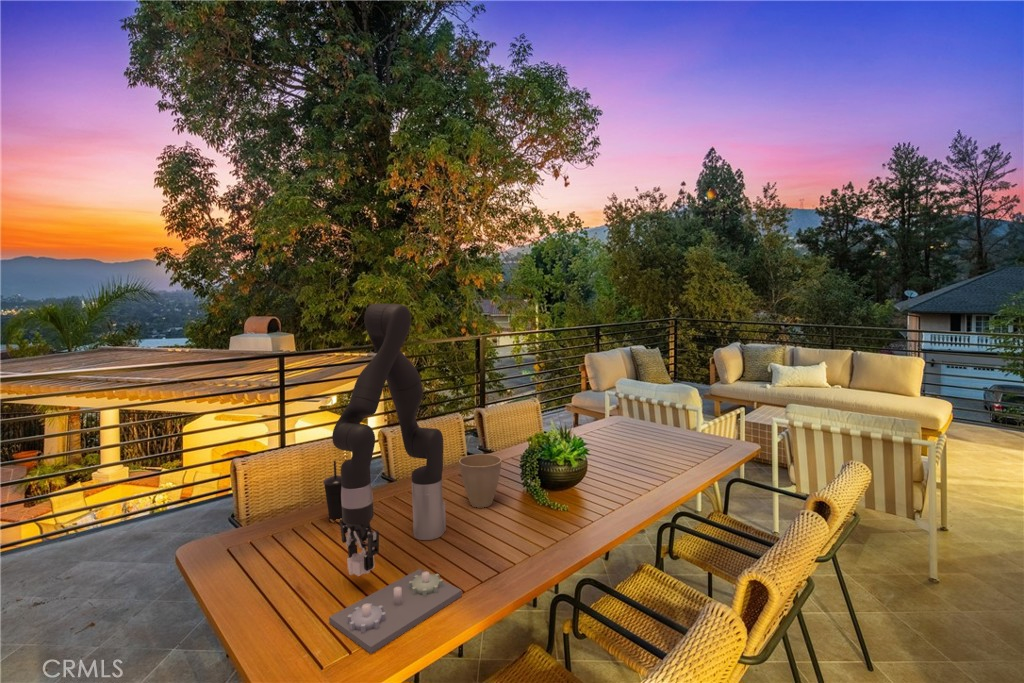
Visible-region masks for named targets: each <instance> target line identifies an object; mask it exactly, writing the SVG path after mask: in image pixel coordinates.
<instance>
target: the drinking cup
mask: <svg viewBox="0 0 1024 683" xmlns="http://www.w3.org/2000/svg"><path fill="white" fill-rule="evenodd" d="M322 484H323V485H324V490H325V496H326V505H327V512H328V519H329V518H330V519H333V520H336V519H340V518H342V502H341V489H342V485H341V474H340V475H339V474H338V475H337V462H336V460H333V475H332V476H329V477H327V478H325V479H324V480H323V482H322Z"/></svg>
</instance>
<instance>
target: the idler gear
mask: <svg viewBox="0 0 1024 683" xmlns="http://www.w3.org/2000/svg"><path fill="white" fill-rule="evenodd" d="M346 561H347V565H346V566H347V571H348V574H349V575H350V576H352V575H356V577H360V576H361V575H364V574H365V575H366V574H367V575H368V574H371V570H374V569H375V566H376V565H375V564H374V566H373V568H372V569H370V570H368V571H366V570H365V569H364V554H363V551H362V550H361V551H360V552H357V554H356V553H354V554H352V557H351V558H349V557H347V559H346ZM373 561H374V562H375V555H373Z"/></svg>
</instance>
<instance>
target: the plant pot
mask: <svg viewBox="0 0 1024 683" xmlns="http://www.w3.org/2000/svg"><path fill="white" fill-rule="evenodd" d="M458 463H459V469H460V475H461V479H462V483H463V487H464V490H465V493H466V496H467V498H468V501H469V504H470V506H471V505H472V506H471V507H473V508H476V507H477V508H478V509H485V508H488V507H490V506H491V505H492V504H493V501H494V498H495V495H496V492H497V488H498V485H499V484H498V483H499V479H500V473H501V468H502V458H501V457H500V456H498V455H494V454H487V453H481V454H480V453H478V454H470V455H466V456H463V457H461V458H460V459H459V461H458ZM484 507H485V508H484Z"/></svg>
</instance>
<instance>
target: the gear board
mask: <svg viewBox="0 0 1024 683" xmlns="http://www.w3.org/2000/svg"><path fill="white" fill-rule="evenodd" d="M461 597H463V590H462V589H460V588H458V587H456V586H454V585H452V584H450V583H449V582H446V581H444V580H443V578H440V574H439V573H435V574H433V573H430V572H429V571H427V570H426V571H425V570H422V569H421V568H418V569H416V570H415V571H412V572H410V573H409V574H407V575H404V576H403V577H402V578H399V579H397V580H396V581H393V582H392V583H390V584H388V585H386V586H384V587H382V588H380V589H379V590H376V591H375V592H372V593H371V594H369V595H367V596H366V597H364V598H362V599H360V600H358V601H356V602H354V603H352V604H351V605H349V606H347V607H345V608H342V609H341V610H339V611H338V612H336V613H334V614H332V615H330V616H328V621H329V622H328V623H329V625H331V626H333V628H335V629H336V628H337V629H336V630H338V631H339V632H341V633H342V634H343V635H344V636H346V637H347V638H348V639H350V640H351V641H353V642H354V643H356V644H357V645H358V646H359V647H361V648H362V649H364V650H365V651H366V652H368V653H369V654H371V655H372V654H374V653H375V652H376V651H378V650H380V649H382V648H383V647H384V646H386V645H387V644H389V643H391V642H392V641H394V640H395V639H397V638H398V637H400V636H402V635H403V634H406V632H408V631H409V630H411V629H412V628H414V627H415V626H417V625H419V624H421V623H422V622H424V621H425V620H427V619H428V618H430V617H432V616H433V615H435V614H436V613H438V612H440V611H441V610H442V609H444V608H446V607H448V606H449V605H450V604H452V603H454V602H455V601H457V600H458V599H460V598H461ZM373 652H374V653H373Z"/></svg>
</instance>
